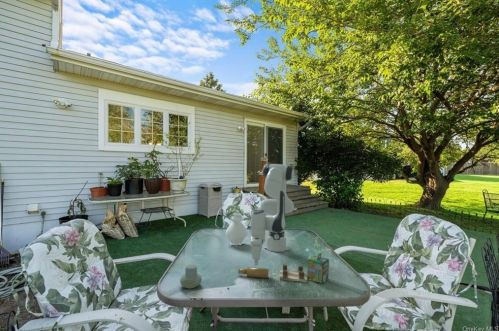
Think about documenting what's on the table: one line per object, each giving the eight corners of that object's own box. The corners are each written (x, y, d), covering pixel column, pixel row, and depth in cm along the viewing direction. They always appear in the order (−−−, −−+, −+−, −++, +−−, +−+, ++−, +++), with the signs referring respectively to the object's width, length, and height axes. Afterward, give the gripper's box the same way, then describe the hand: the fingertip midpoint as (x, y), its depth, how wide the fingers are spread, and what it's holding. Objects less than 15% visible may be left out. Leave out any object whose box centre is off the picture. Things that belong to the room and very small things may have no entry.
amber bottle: (239, 265, 147) (238, 267, 142) (268, 268, 144) (268, 269, 139) (239, 274, 146) (237, 276, 141) (268, 277, 143) (267, 279, 138)
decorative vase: (247, 247, 196) (247, 215, 197) (224, 247, 196) (225, 215, 197) (247, 241, 214) (248, 212, 214) (227, 240, 214) (227, 211, 215)
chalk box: (313, 274, 147) (314, 249, 147) (329, 279, 141) (329, 252, 142) (306, 279, 140) (307, 253, 140) (322, 284, 134) (322, 257, 134)
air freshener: (202, 282, 134) (203, 263, 134) (200, 289, 125) (200, 269, 126) (182, 282, 133) (182, 263, 133) (178, 289, 125) (178, 269, 125)
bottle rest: (279, 272, 149) (280, 264, 149) (305, 274, 147) (305, 265, 147) (279, 280, 138) (279, 271, 138) (307, 282, 136) (307, 273, 136)
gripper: (254, 233, 156) (253, 256, 156) (250, 242, 136) (249, 267, 136) (264, 234, 156) (263, 256, 155) (261, 242, 135) (261, 268, 135)
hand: (257, 262), depth 145 cm, fingers open, 8 cm apart
